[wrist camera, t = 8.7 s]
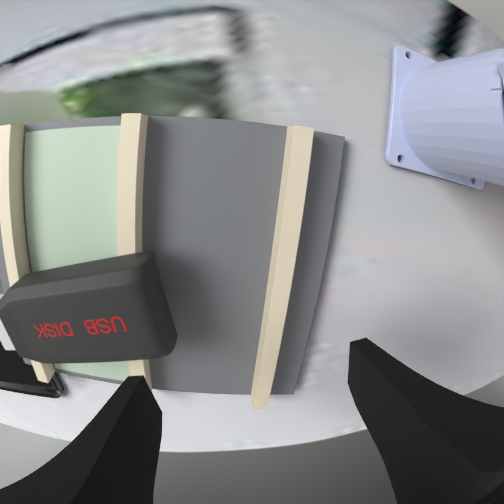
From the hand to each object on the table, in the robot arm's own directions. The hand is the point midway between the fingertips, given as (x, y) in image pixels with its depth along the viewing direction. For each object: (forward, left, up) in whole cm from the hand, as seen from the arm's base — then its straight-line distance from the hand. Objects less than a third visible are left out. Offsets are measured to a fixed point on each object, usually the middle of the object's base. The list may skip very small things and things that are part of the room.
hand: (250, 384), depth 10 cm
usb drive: (+10, +2, -7) cm, 12 cm away
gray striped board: (+6, 0, -9) cm, 11 cm away
